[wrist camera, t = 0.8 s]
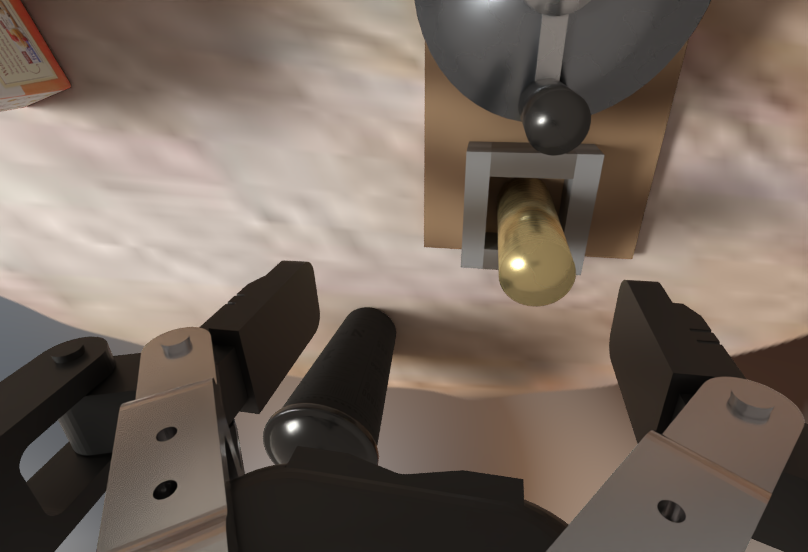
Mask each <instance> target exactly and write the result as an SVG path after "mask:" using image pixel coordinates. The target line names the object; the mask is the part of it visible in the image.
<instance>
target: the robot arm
mask: <svg viewBox="0 0 808 552" xmlns="http://www.w3.org/2000/svg"><path fill="white" fill-rule="evenodd" d="M319 320H320V310H319V303H318V296H317V289H316V283H315V276H314V270H313V267H312V265H311V263H310V262H302V261H281V262H280V263H279V264H278V265H277V266H276V267H274V268H273V269H272V270H271V271H270V272H269V273H268V274H267V275H266V276H263V277H261V278H259V279H257V280H255V281H253V282H251V283H249V284H247V285H246V286H245V287H244V288H243V289H242V290H241V291H240V292H239V293H237V296H234V297H233V298H232V299H231V300H230V301H228V304H225V305H224V306H223V307H222V308H221V309H219V310H218V311H217V312H216V313H215V314H214V315H213V316H212V317H210V318H209V319H208V320H207V321H206V322H205V323H204V324H203V325H201V326H200V327H185V328H179V329H175V330H171V331H168V332H166V333H163V334H161V335H159V336H157V337H156V338H154V339H153V340H151V341H150V342H149V343H147V344H146V345H145V347H144V348H143V350H142V352H141V353H136V354H128V355H118V356H113V355H112V353H111V350H110V348H109V345H108V343H107V341H106V340H105V339H103V338H100V337H83V338H78V339H73V340H70V341H66V342H64V343H61V344H58V345H56V346H54V347H52V348H50V349H48V350H47V351H45V352H43V353H42V354H40V355H39V356H37V357H36V358H34V359H33V360H32V361H30V362H29V363H28V364H26V365H24V366H23V367H21V368H20V369H19V370H17V371H16V372H14V373H13V374H11V375H10V376H8V377H7V378H6V379H4V380H3V381H1V382H0V552H55V550H56V549H57V548H58V547H59V546H60V544H61V543H62V542H63V541H64V540H65V539H66V537H67V536H68V535H69V534H70V533H71V531H72V530H73V529H74V528H75V527H76V525H77V524H78V523H79V522H80V521H81V520H82V519H83V517H84V516H85V515H86V514H87V513H88V512H89V510H90V509H91V508H92V507H93V506H94V504H95V503H96V502H97V501H98V500H99V499H100V497H101V496H102V495H103V494H104V493H105V492H106V495H105V501H104V508H103V514H102V520H101V526H100V532H99V538H98V544H97V550H96V552H745V550H746V548H747V545H748V543H749V541H750V539H751V538H752V539H754V540H757V541H759V542H761V543H764V544H766V545H769V546H771V547H774V548H776V549H779V550H781V551H784V552H808V424H806V423H804V417H803V415H802V413H801V412H800V410H799V409H798V408H797V407H796V406H795V405H794V404H793V403H792V402H791V401H790V400H789V399H787V398H786V397H785V396H783V395H782V394H780V393H778V392H776V391H775V390H773V389H771V388H769V387H767V386H764V385H762V384H759V383H756V382H753V381H750V380H747V379H746V378H745V377H744V375H743V374H742V372H741V371H740V370H739V368H738V367H737V365H736V364H735V363H734V361H733V360H732V359H731V357H730V355H729V354H728V353H727V351H726V350H725V348H724V347H723V346H722V345H720V341H719V340H718V339H717V337H716V336H715V335H714V333H711V329H710V328H709V326H708V325H707V323H706V322H705V321H704V319H703V318H702V316H700V315H699V314H697V313H696V312H694V311H693V310H691V309H690V308H689V307H687V306H686V305H684V304H680V303H672V301H671V300H670V298H669V296H668V295H667V293H666V292H665V290H664V289H663V287H662V285H661V284H660V283H659V282H652V281H634V280H623V282H622V283H621V286H620V289H619V293H618V298H617V303H616V308H615V313H614V318H613V323H612V328H611V333H610V342H609V351H610V359H611V362H612V365H613V369H614V372H615V375H616V378H617V381H618V384H619V387H620V390H621V393H622V396H623V399H624V402H625V405H626V409H627V412H628V415H629V418H630V421H631V424H632V428H633V431H634V434H635V437H636V440H637V443H638V445H637V446H636V447H635V448H634V449H633V450H632V452H631V453H630V454H629V455H628V456H627V457H626V459H625V460H624V461H623V462H622V463H621V464H620V466H619V467H618V468H617V469H616V470H615V472H614V473H613V474H612V475H611V476H610V477H609V478H608V480H607V481H606V482H605V483H604V484H603V486H602V487H601V488H600V489H599V490H598V491H597V493H596V494H595V495H594V496H593V497H592V498H591V500H590V501H589V502H588V503H587V504H586V506H585V507H584V508H583V509H582V510H581V511H580V513H579V514H578V515H577V516H576V517H575V518H574V519H573V521H572V522H571V523H570V524H569V525H568V524H567V523H566V522H565V521H563V520H562V519H560V518H559V517H557V516H556V515H554V514H553V513H551V512H549V511H547V510H546V509H544V508H542V507H540V506H538V505H536V504H534V503H531V502H529V501H527V500H524V487H523V479H518V478H511V477H504V476H498V475H490V474H484V473H477V472H470V471H463V470H462V471H447V472H433V473H419V474H398V473H395V472H393V471H390V470H388V469H385V468H383V467H381V466H378V465H376V464H373V463H371V462H368V461H366V460H363V459H361V458H359V457H356V456H354V455H351V454H349V453H343V452H336V451H329V450H323V449H316V448H309V447H302V446H297V447H296V449H295V451H294V453H293V455H292V456H291V458H290V460H289V462H288V463H285V464H278V465H273V466H268V467H264V468H261V469H257V470H255V471H252V472H249V473H247V474H245V472H244V466H243V460H242V454H241V449H240V442H239V436H238V431H237V426H236V423H235V419H234V418H235V416H236V415H237V414H238V412H239V411H240V412H248V413H255V414H260V412H261V411H262V410H263V408H264V407H265V405H266V404H267V402H268V401H269V399H270V398H271V396H272V395H273V394H274V392H275V391H276V389H277V388H278V386H279V385H280V383H281V382H282V381H283V379H284V378H285V376H286V375H287V373H288V372H289V370H290V369H291V368H292V366H293V365H294V363H295V362H296V360H297V359H298V357H299V356H300V355H301V353H302V352H303V350H304V349H305V347H306V346H307V344H308V343H309V342H310V340H311V339H312V337H313V336H314V334H315V333H316V331H317V328H318V325H319ZM57 420H58V421H59V423H60V425H61V427H62V428H63V431H64V432H65V434H66V436H67V438H68V440H69V442H68V443H67V444H66V445H65V446H64V447H63V448H62V449H61V450H60V451H59V452H57V453H56V454H55V455H54V456H53V457H52V458H51V459H50V460H49V461H48V462H47V463H46V464H45V465H44V466H43V467H42V468H41V469H40V470H39V471H38V472H36V474H34V475H33V476H32V477H31V478H30V479H29V480H28V481H27V482H26V481H25V480H24V478H23V477H22V475H21V473H20V469H19V464H20V459H21V457H22V454H23V452H24V451H25V449H26V448H27V447H28V446H29V445H30V444H31V443H32V442H33V441H34V440H35V439H36V438H38V437H39V436H40V435H41V434H42V433H43V432H44V431H46V430H47V429H48V428H49V427H50V426H51V425H52V424H54V423H55V422H56V421H57Z"/></svg>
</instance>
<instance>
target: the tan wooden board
mask: <svg viewBox="0 0 808 552" xmlns="http://www.w3.org/2000/svg"><path fill="white" fill-rule="evenodd" d="M688 40H689V39H688ZM688 40H687V41H686V43H685V44H684V46H683V47H682V48H681V50H680V51H679V52H678V53H677V54H676V55H675V56H674V58H673V59H672V60H671V61H670V62H669V63H668V64H667V65H666V66H665V68H663V69H662V70H661V71H660V72H659V73H658V74H657V75H656V76H655V77H654V78H653V79H651V80H650V81H649V82H648V83H647V84H645V85H644V86H643V87H641V88H640V89H639V90H637V91H636V92H635V93H633V94H632V95H630V96H629V97H627V98H625V99H624V100H622V101H620V102H618V103H617V104H615V105H613V106H611V107H609V108H607V109H604V110H602V111H600V112H598V113H595V114H592V115H591V125H590V129H589V131H588V134H587V136H586V137H585V139H584V140H583V142H582V143H581V144H580V145H579V146H578V147H576V148H575V149H574V150H572V151H570V152H568V153H566V154H562V155H556V156H552V155H546V154H543V153H540V152H539V151H537V150H536V149H534V148H533V147H532V146H531V144H530V143H529V141H528V139H527V136H526V133H525V130H524V127H523V124H522V122H520V121H516V120H511V119H507V118H504V117H501V116H499V115H496V114H493V113H491V112H489V111H487V110H485V109H483V108H482V107H480V106H478V105H476V104H475V103H474V102H472V101H471V100H469V99H468V98H467V97H465V96H464V95H463V94H462V93H461V92H460V91H459V90H458V89H457V88H456V87H455V86H454V85H453V84H452V83H451V82H450V81H449V80H448V79H447V77H446V76H445V75H444V73H443V72H442V71H441V70H440V68H439V66H438V65H437V63H436V61H435V60H434V58H433V56H432V55H431V53H430V51H429V48H428V46H427V44H426V41H425V170H424V247H433V248H450V249H462V254H461V267H463V268H478V269H494V270H499V263H498V216H497V198H498V194H499V192H500V190H501V188H502V187H503V186H504V184H506V183H507V182H508V181H509V180H511V179H513V178H515V177H520V178H538V179H540V180H541V181H542V182H543V183H544V184H545V185H546V186H547V188H548V190H549V192H550V195H551V198H552V201H553V204H554V207H555V209H556V212H557V215H558V218H559V221H560V224H561V227H562V229H563V232H564V235H565V238H566V241H567V244H568V246H569V249H570V252H571V255H572V258H573V261H574V263H575V268H576V275H581V271H582V266H583V261H584V256H587V257H604V258H621V259H632V258H633V254H634V250H635V247H636V243H637V239H638V235H639V231H640V227H641V223H642V219H643V215H644V211H645V208H646V204H647V200H648V196H649V192H650V188H651V184H652V180H653V176H654V172H655V169H656V165H657V161H658V157H659V153H660V149H661V145H662V141H663V137H664V133H665V130H666V126H667V122H668V118H669V114H670V110H671V106H672V102H673V98H674V94H675V90H676V87H677V83H678V79H679V75H680V71H681V67H682V63H683V59H684V55H685V51H686V48H687V44H688Z"/></svg>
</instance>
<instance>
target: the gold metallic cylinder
mask: <svg viewBox="0 0 808 552" xmlns="http://www.w3.org/2000/svg"><path fill="white" fill-rule="evenodd" d="M497 216H498V263H499V281H500V285H501V287H502V289H503V291H504V292H505V293H506V294H507V296H509V297H510V298H511V299H512V300H514V301H516V302H518V303H520V304H523V305H527V306H544V305H548V304H552V303H554V302H556V301H558V300H560V299H561V298H562V297H564V296H565V295H566V294H567V293H568V292H569V290H570V289H571V287H572V286H573V284H574V281H575V277H576V268H575V263H574V261H573V258H572V255H571V252H570V249H569V246H568V244H567V241H566V238H565V235H564V232H563V229H562V227H561V224H560V221H559V218H558V215H557V212H556V209H555V207H554V204H553V201H552V198H551V195H550V192H549V190H548V188H547V186H546V185H545V184H544V183H543V182H542V181H541V180H540V179H538V178H520V177H515V178H513V179H511V180H509V181H508V182H507V183H506V184H504V186H503V187H502V188H501V190H500V192H499V194H498V198H497Z"/></svg>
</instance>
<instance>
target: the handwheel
mask: <svg viewBox="0 0 808 552" xmlns="http://www.w3.org/2000/svg"><path fill="white" fill-rule="evenodd" d="M710 1H711V0H415V6H416V12H417V17H418V20H419V24H420V27H421V30H422V34H423V37H424V39H425V41H426V44H427V46H428V48H429V51H430V53H431V55H432V56H433V58H434V60H435V61H436V63H437V65H438V66H439V68H440V70H441V71H442V72H443V73H444V75H445V76H446V77H447V79H448V80H449V81H450V82H451V83H452V84H453V85H454V86H455V87H456V88H457V89H458V90H459V91H460V92H461V93H462V94H463V95H464V96H465V97H467V98H468V99H469V100H471V101H472V102H474V103H475V104H476V105H478V106H480V107H482V108H483V109H485V110H487V111H489V112H491V113H493V114H496V115H499V116H501V117H504V118H507V119H511V120H516V121H520V122H522V124H523V127H524V130H525V133H526V136H527V139H528V141H529V143H530V144H531V146H532V147H533V148H534V149H536V150H537V151H539V152H540V153H543V154H546V155H552V156H556V155H562V154H566V153H568V152H570V151H572V150H574V149H575V148H576V147H578V146H579V145H580V144H581V143H582V142H583V140H584V139H585V137H586V136H587V134H588V131H589V129H590V125H591V115H592V114H595V113H598V112H600V111H602V110H604V109H607V108H609V107H611V106H613V105H615V104H617V103H618V102H620V101H622V100H624V99H625V98H627V97H629V96H630V95H632V94H633V93H635V92H636V91H637V90H639V89H640V88H641V87H643V86H644V85H645V84H647V83H648V82H649V81H650V80H651V79H653V78H654V77H655V76H656V75H657V74H658V73H659V72H660V71H661V70H662V69H663V68H665V66H666V65H667V64H668V63H669V62H670V61H671V60H672V59H673V58H674V56H675V55H676V54H677V53H678V52H679V51H680V50H681V48H682V47H683V46H684V44H685V43H686V41H687V40H688V39H689V37H690V36H691V34H692V33H693V32H694V30H695V29H696V27H697V25H698V24H699V22H700V20H701V18H702V17H703V15H704V13H705V11H706V10H707V8H708V6H709V4H710Z"/></svg>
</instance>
